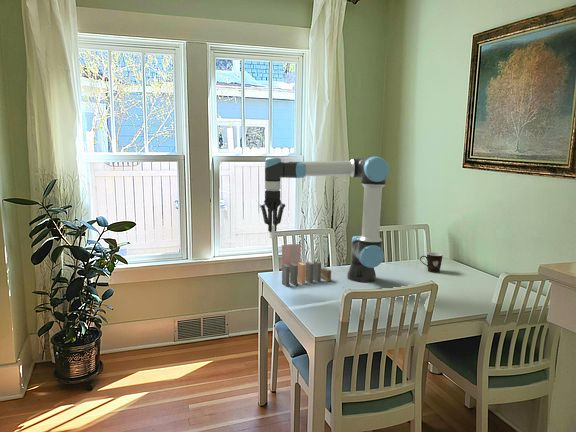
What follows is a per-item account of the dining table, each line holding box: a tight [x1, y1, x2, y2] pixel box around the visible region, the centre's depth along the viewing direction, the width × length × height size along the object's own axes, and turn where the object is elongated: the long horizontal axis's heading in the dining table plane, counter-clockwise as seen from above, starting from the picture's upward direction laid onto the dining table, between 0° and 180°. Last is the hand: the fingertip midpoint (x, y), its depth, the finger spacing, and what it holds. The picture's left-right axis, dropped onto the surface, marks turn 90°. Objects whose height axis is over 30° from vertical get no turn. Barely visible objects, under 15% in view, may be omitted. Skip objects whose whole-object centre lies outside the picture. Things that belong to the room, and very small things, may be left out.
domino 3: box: [305, 261, 314, 284], centre depth 224 cm, size 2×5×10 cm, turn 25°
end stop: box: [321, 266, 332, 283], centre depth 228 cm, size 2×7×6 cm, turn 25°
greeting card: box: [281, 243, 302, 266], centre depth 243 cm, size 11×7×15 cm, turn 113°
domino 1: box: [281, 263, 290, 287], centre depth 218 cm, size 2×5×10 cm, turn 25°
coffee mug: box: [419, 252, 444, 274], centre depth 249 cm, size 12×9×10 cm
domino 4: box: [312, 260, 322, 283], centre depth 226 cm, size 2×5×10 cm, turn 25°
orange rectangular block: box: [297, 262, 306, 285], centre depth 222 cm, size 2×5×10 cm, turn 26°
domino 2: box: [289, 263, 299, 286], centre depth 220 cm, size 2×5×10 cm, turn 26°
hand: (272, 238), depth 212 cm, fingers closed
